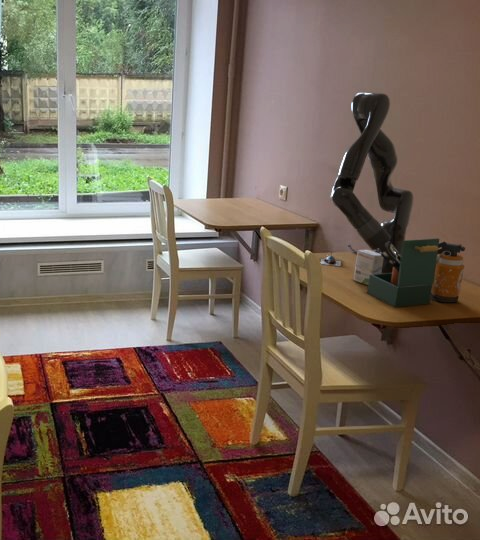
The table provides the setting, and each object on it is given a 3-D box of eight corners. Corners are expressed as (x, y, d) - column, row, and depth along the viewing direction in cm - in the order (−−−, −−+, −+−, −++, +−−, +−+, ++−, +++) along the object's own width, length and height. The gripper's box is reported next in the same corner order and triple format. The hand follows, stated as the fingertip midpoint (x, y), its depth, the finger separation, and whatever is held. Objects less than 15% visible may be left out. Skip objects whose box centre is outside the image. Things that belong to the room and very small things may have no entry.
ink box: (380, 285, 223) (384, 254, 219) (370, 286, 221) (374, 256, 217) (362, 278, 230) (366, 248, 226) (352, 280, 228) (356, 250, 224)
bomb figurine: (320, 263, 248) (321, 251, 246) (320, 259, 254) (322, 246, 253) (340, 266, 245) (342, 253, 243) (341, 261, 252) (342, 248, 250)
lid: (402, 240, 195) (413, 243, 191) (437, 238, 199) (449, 241, 194) (397, 286, 199) (408, 290, 195) (431, 283, 203) (443, 287, 198)
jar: (385, 293, 212) (390, 260, 208) (396, 292, 213) (401, 259, 209) (394, 297, 208) (399, 264, 204) (405, 296, 209) (410, 263, 205)
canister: (456, 305, 203) (467, 248, 197) (420, 299, 209) (429, 243, 203) (458, 297, 210) (469, 242, 204) (423, 292, 216) (432, 237, 210)
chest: (367, 292, 215) (369, 274, 213) (399, 289, 218) (402, 271, 216) (395, 307, 201) (398, 287, 199) (429, 303, 205) (432, 284, 203)
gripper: (380, 231, 200) (414, 270, 199) (383, 222, 212) (415, 259, 211) (361, 244, 204) (394, 283, 203) (365, 235, 216) (396, 271, 215)
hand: (405, 270), depth 207 cm, fingers open, 6 cm apart
